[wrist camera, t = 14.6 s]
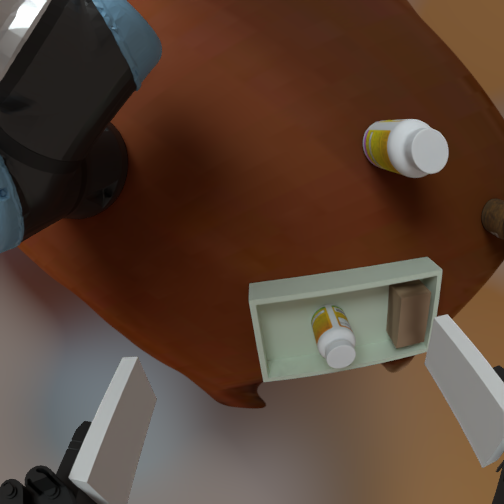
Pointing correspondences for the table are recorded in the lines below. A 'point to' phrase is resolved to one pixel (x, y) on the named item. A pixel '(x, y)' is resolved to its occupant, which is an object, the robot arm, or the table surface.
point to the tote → (349, 300)
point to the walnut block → (407, 312)
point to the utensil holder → (494, 217)
